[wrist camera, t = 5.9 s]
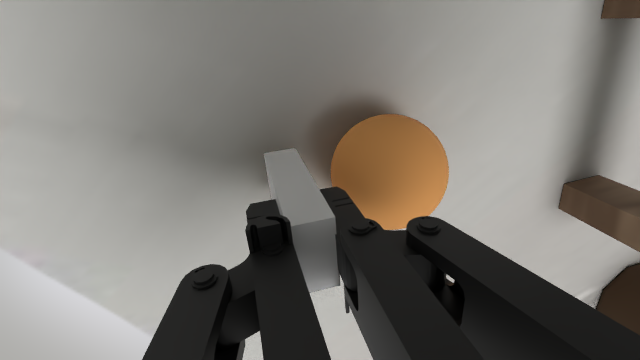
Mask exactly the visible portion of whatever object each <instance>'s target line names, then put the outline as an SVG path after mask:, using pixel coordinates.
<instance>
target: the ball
mask: <svg viewBox="0 0 640 360" xmlns="http://www.w3.org/2000/svg"><path fill="white" fill-rule="evenodd" d="M448 177H449V166H448V160H447V156H446V153H445V150H444V148H443V146H442V144H441V142H440V141H439V139H438V138H437V136H436V135H435V134H434V133H433V132H432V131H431V130H430V129H429V128H428V127H426V126H425V125H424V124H422V123H421V122H419V121H417V120H415V119H412V118H410V117H407V116H403V115H397V114H383V115H377V116H373V117H370V118H367V119H365V120H363V121H361V122H359V123H358V124H356V125H355V126H353V127H352V128H351V129H350V130H349V131H348V132H347V133H346V134H345V135H344V136H343V137H342V139H341V140H340V142H339V143H338V145H337V147H336V149H335V152H334V155H333V158H332V163H331V181H332V186H333V187H336V186H337V187H339V188H341V189H343V190H345V191H346V192H347V194H348V195H349V196H350V198H351V199H352V201H353V202H354V203H355V205H356V206H357V207H358V209H359V210H360V212H361V213H362V214H363V216H364V217H365V218H368V219H371V220H374V221H376V222H377V223H378V224H380V225H381V227H382V228H383V229H384V230H396V229H402V228H406V227H407V224H408V222H409V221H410V220H412V219H413V218H416V217H420V216H428V215H430V214H431V213H432V212H433V211H434V210H435V208H436V207H437V206H438V204H439V203H440V201H441V200H442V198H443V196H444V193H445V190H446V188H447V184H448Z"/></svg>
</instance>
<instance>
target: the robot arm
mask: <svg viewBox="0 0 640 360" xmlns="http://www.w3.org/2000/svg"><path fill="white" fill-rule="evenodd" d="M264 159H265V165H266V171H267V177H268V183H269V189H270V195H271V200H268V201H263V202H258V203H253V204H250V206H249V207H248V209H247V211H246V215H247V223H248V225H247V226H246V230H245V231H246V236H247V241H248V246H249V250H250V254H249V256H248V257H247V259H246V260H245V261H244V262H242V263H241V264H240V265H238V266H236V267H234V268H232V269H230V270H228V271H227V269H226V268H225V267H223V266H221V265H214V264H210V265H205V266H201V267H199V268H196V269H194V270H192V271H191V272H189V273H188V274H187V275H185V277H184V278H183V279H182V281H181V282H180V284H179V286H178V288H177V290H176V292H175V294H174V296H173V298H172V300H171V302H170V304H169V306H168V308H167V310H166V312H165V314H164V316H163V318H162V320H161V322H160V324H159V327H158V329H157V331H156V333H155V335H154V337H153V339H152V341H151V343H150V345H149V347H148V349H147V351H146V353H145V355H144V357H143V359H142V360H242V358H243V353H244V348H245V339H246V338H248V337H250V336H251V335H253V334H255V333H257V332H258V331H260V335H261V342H262V350H263V358H264V360H331V358H330V355H329V352H328V349H327V346H326V343H325V340H324V336H323V333H322V330H321V327H320V324H319V321H318V318H317V315H316V312H315V309H314V306H313V303H312V300H311V297H310V294H309V293H311V292H315V291H319V290H323V289H327V288H331V287H335V286H339V285H340V275H341V278H342V280H343V282H344V294H345V308H346V313H349V306H350V308H351V310H352V313H353V315H354V317H355V319H356V322H357V324H358V326H359V328H360V330H361V333H362V335H363V337H364V339H365V342H366V344H367V346H368V348H369V351H370V353H371V355H372V357H373V360H640V335H638V334H637V333H635V332H633V331H632V330H630V329H628V328H626V327H625V326H623V325H621V324H620V323H618V322H616V321H614V320H613V319H611V318H609V317H608V316H606V315H604V314H602V313H601V312H599V311H597V310H596V309H594V308H592V307H591V306H589V305H587V304H585V303H584V302H582V301H580V300H579V299H577V298H575V297H573V296H572V295H570V294H568V293H567V292H565V291H563V290H561V289H560V288H558V287H556V286H555V285H553V284H551V283H549V282H548V281H546V280H544V279H543V278H541V277H539V276H538V275H536V274H534V273H532V272H531V271H529V270H527V269H526V268H524V267H522V266H520V265H519V264H517V263H515V262H514V261H512V260H510V259H508V258H507V257H505V256H503V255H502V254H500V253H498V252H497V251H495V250H493V249H491V248H490V247H488V246H486V245H485V244H483V243H481V242H479V241H478V240H476V239H474V238H473V237H471V236H469V235H467V234H466V233H464V232H462V231H461V230H459V229H457V228H455V227H454V226H452V225H450V224H449V223H447V222H445V221H443V220H441V219H439V218H435V217H430V216H420V217H416V218H413V219H412V220H410V221H409V222H408V224H407V227H406V230H396V231H392V230H384V229H383V228H382V227H381V225H380V224H378V223H377V222H376V221H374V220H371V219H368V218H365V217H364V216H363V214H362V213H361V212H360V210H359V209H358V207H357V206H356V205H355V203H354V202H353V201H352V199H351V198H350V196H349V195H348V194H347V192H346V191H345V190H343V189H341V188H339V187H337V186H336V187H330V188H325V189H320V190H319V188H318V186H317V185H316V183H315V181H314V179H313V178H312V176H311V174H310V173H309V171H308V169H307V167H306V166H305V164H304V162H303V161H302V159H301V157H300V155H299V154H298V152H297V150H296V148H292V149H286V150H280V151H274V152H268V153H264ZM339 273H340V274H339ZM446 274H447V275H449V276H450V277H451V278H453V279H454V280H455V281H454V283H452V282H451V281H449V280H448V279H446Z"/></svg>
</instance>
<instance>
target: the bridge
mask: <svg viewBox="0 0 640 360" xmlns="http://www.w3.org/2000/svg"><path fill="white" fill-rule="evenodd" d="M602 18H640V0H605V3H604V7H603V12H602V16H601V19H602ZM559 209H560V210H562V211H564V212H566V213H568V214H570V215H572V216H573V217H575V218H577V219H579V220H581V221H583V222H585V223H587V224H588V225H590V226H592V227H594V228H596V229H598V230H600V231H601V232H603V233H605V234H607V235H609V236H611V237H613V238H614V239H616V240H618V241H620V242H622V243H624V244H626V245H628V246H629V247H631V248H633V249H635V250H637V251H639V252H640V191H638V190H635V189H633V188H630V187H628V186H625V185H623V184H620V183H618V182H615V181H612V180H610V179H607V178H605V177H602V176H600V175H597V176H593V177H589V178H585V179H581V180H577V181H573V182H569V183H566V184H564V187H563V191H562V196H561V200H560V205H559Z"/></svg>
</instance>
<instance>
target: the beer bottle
mask: <svg viewBox="0 0 640 360" xmlns="http://www.w3.org/2000/svg"><path fill="white" fill-rule="evenodd" d="M596 310H597V311H599V312H601V313H602V314H604V315H606V316H608V317H609V318H611V319H613V320H614V321H616V322H618V323H620V324H621V325H623V326H625V327H626V328H628V329H630V330H632V331H633V332H635V333H637V334H638V335H640V264H636V265H633V266H630V267H627V268H626V269H625V270H624V271H623V272H622V273H620V274H619V275H618V276H617V277H616V278H615V279H614V280H613V281H612V282H611V283H610V284H609V285H608V286H607V287H606V288H605V289H603V292H602V295H601V298H600V300H599V303H598V306H597V309H596Z"/></svg>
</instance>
